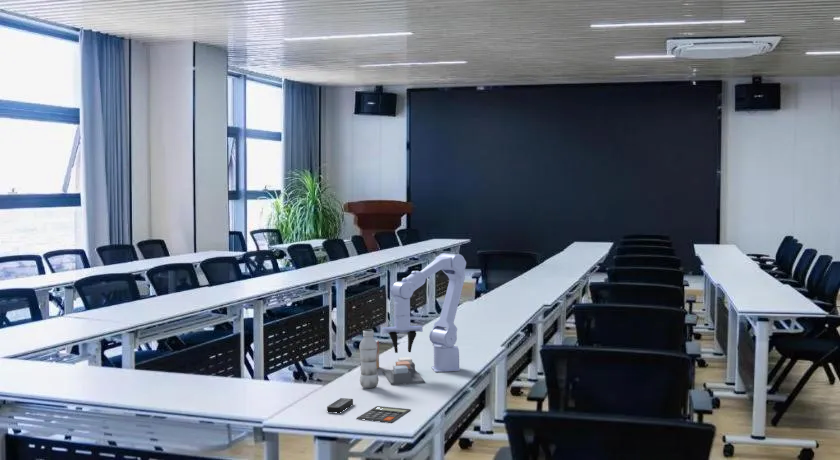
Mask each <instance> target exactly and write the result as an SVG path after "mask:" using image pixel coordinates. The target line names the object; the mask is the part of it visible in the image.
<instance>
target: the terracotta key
mask: <svg viewBox="0 0 840 460" xmlns="http://www.w3.org/2000/svg"><path fill="white" fill-rule="evenodd" d="M404 365H406V366H407V367H408V369H409V368H410V363H409V362H408V361H401V362H398V361H395V366H404Z"/></svg>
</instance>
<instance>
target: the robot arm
mask: <svg viewBox="0 0 840 460" xmlns="http://www.w3.org/2000/svg"><path fill="white" fill-rule="evenodd" d="M466 267H467V261H466V259H465V258H464V256H463V254H460V253H457V254H456V253H454V254H453V253H447V252H443V253H440V254H439V255H437V256H435V259H434V260H433V261H431V262H430V263H429V264H428V265H426V266H425V267H424V268H423V269H422V270H420V271H419V270H412V271H411V273H410V274H409V275H408V276H406V277H403V278H402V279H401V281H396V282H394V283H393V285H392V286H391V289H390V294H391V296H392V297H393V298H392V300H393V303H394V305H393V306H394V307H393V309H394V310H393V311H394V314H393V315H394V326H385V327H382V328H381V331H382V334H388V335H389V337H390V339H391V342H392V344H393V347H394V353H395V354H398V352H399V351H398V349H399V347H398V333H407V352H408V353H412V347H413V343H414V341H415V339H416V336H417V332H418V333H419V332H421V333H422V332H424V331H423V325H411V298H412V296H413V294H414V292H415V291H416V290H417V289H419V288H420V287H422V286H423V285H424V284H425V283H426V279H428V278H430V277H431V276H433V275H434V274H436V273H438V272H440V271H442V272H443V273H444V274H445V275H446V277H448V280H449V281H448V285H447V289H446V293H445V297H444V301H443V304H442V309H441V312H440V317H439V319H438V320H437V321H435V322H434V324H433V326H432V329H431V330H430V332H429V336H428V337H429V341H430V342H431V344H432V346H433V366H431V369H432V370H433V371H434V372H435V373H441V372H457V371H458V372H459V371H461V369H460V349H459V347H458V345H455V344H456V343H457V339H458V337H457V332H458V327H457V325H456V324H455V319H456V316H457V315H456V314H457V311H458V308H459V303H460V299H461V295H462V292H463V291H462V290H463V287H464V283H465V280H466V279H465V278H466V274H465V273H466V272H465V271H466Z"/></svg>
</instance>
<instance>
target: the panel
mask: <svg viewBox="0 0 840 460" xmlns="http://www.w3.org/2000/svg"><path fill="white" fill-rule="evenodd" d="M394 366H395V365H393V366H392V367H393V369H385V370H382V374H383V376H385V378H386V379H387V381H388V383H389V384H390V385H391V386H393V385H395V386H396V385H398V386H399V385H410V384H426V383H425V382H426V381H425V379H424V378H423V377H422V376H421V375H420V374H419V371H417V370H416V364H415V362H413V361H412V364H410V368H409V369H408V373H399V374H395V373H394Z"/></svg>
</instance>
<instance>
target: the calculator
mask: <svg viewBox="0 0 840 460" xmlns="http://www.w3.org/2000/svg"><path fill="white" fill-rule="evenodd" d="M377 407H380V409H382V408H383V409H382V410H380V409H376V408H377ZM410 411H411V409H410V408H402V407H394V406H393V407H391V406H390V407H389V406H380V405H376V406H374V407H373V408H371V409H369V410H368V411H366V412H364V413H363V414H361V415H359V416H358V417H356V420H357V419H365V420H373V421H372V422H375V421H380V422H379V423H385V422H388V423H387V424H393V423H394V422H396V421H398V420H399V419H400V418H402V417H403V416H404V415H406V414H407V413H409V412H410ZM365 420H364V421H365Z"/></svg>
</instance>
